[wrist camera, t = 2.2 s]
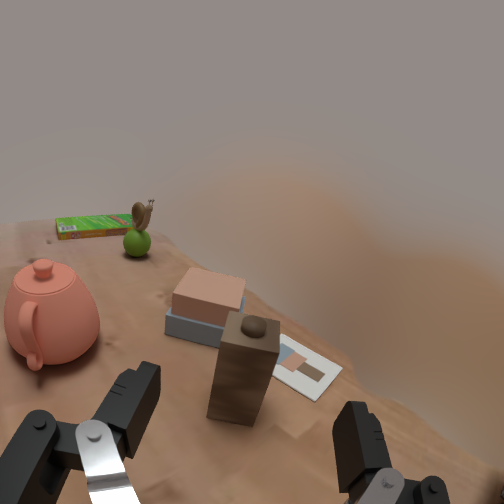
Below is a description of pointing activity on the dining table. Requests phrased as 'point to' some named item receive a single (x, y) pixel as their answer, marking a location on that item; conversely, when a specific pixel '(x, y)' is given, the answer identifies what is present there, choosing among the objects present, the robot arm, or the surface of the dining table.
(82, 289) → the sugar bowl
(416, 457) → the dining table surface
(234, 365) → the walnut brick
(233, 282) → the tower base
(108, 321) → the dining table surface
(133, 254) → the snail figurine
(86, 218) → the game box
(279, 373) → the page
